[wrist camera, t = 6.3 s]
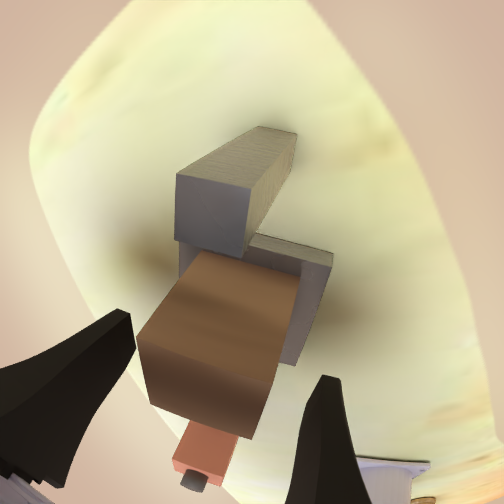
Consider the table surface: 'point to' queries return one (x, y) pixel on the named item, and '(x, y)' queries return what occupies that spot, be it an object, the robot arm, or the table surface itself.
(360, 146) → the table surface
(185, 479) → the lever handle
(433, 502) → the sprinkles bottle
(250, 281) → the block
